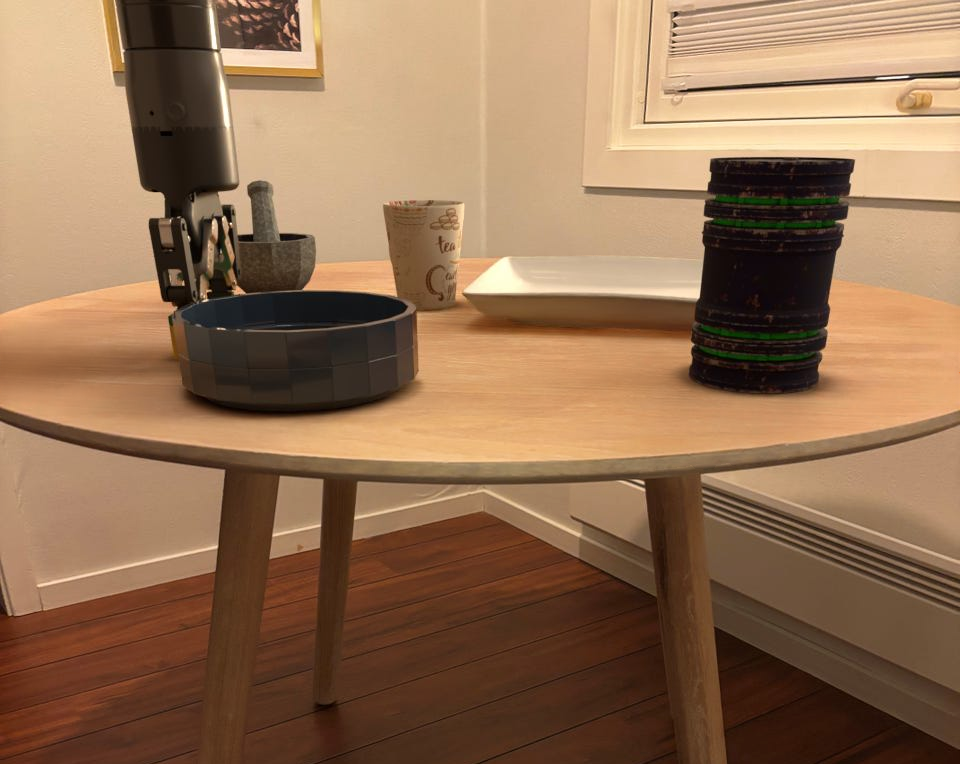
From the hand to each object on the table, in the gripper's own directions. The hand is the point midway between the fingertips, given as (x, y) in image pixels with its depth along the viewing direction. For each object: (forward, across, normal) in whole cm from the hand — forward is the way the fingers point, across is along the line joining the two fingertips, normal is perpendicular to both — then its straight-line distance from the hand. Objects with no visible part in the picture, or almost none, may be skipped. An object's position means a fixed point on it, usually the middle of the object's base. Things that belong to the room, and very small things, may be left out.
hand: (212, 344), depth 80 cm
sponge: (+1, 0, 0) cm, 1 cm away
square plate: (+1, -23, +35) cm, 42 cm away
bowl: (+1, +10, +10) cm, 14 cm away
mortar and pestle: (+1, -24, -1) cm, 24 cm away
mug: (+1, -27, +14) cm, 30 cm away
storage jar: (+1, +6, +44) cm, 44 cm away
